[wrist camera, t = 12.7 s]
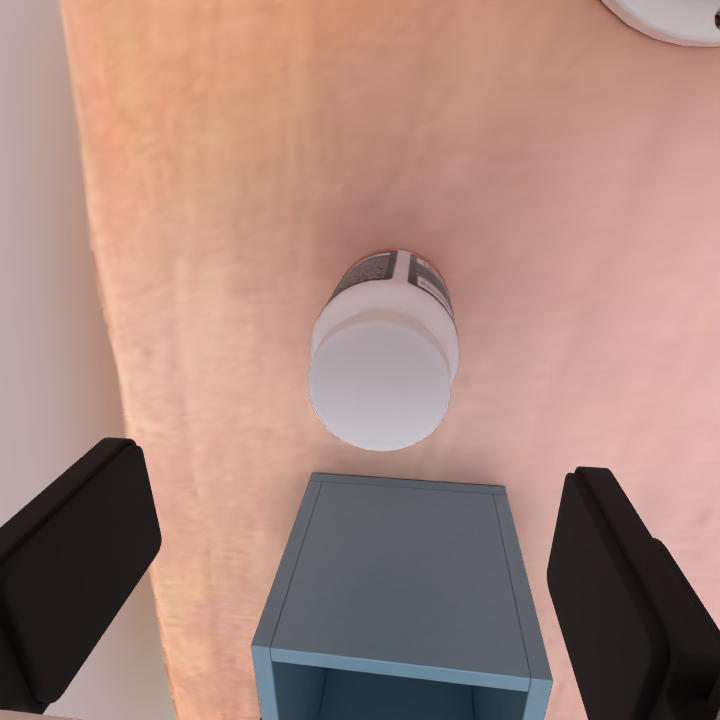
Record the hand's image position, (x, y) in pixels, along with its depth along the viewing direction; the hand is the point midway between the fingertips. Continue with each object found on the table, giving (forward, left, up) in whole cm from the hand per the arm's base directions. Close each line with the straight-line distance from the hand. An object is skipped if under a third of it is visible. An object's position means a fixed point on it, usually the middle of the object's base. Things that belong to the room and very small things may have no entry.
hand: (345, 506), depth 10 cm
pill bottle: (0, 0, -15) cm, 15 cm away
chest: (+19, +1, -15) cm, 24 cm away
